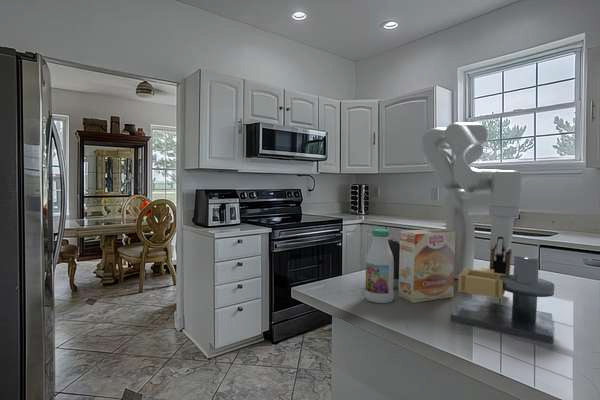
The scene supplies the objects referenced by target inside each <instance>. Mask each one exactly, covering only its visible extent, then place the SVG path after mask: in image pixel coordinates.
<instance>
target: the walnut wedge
mask: <svg viewBox="0 0 600 400" xmlns="http://www.w3.org/2000/svg"><path fill="white" fill-rule="evenodd" d="M491 250H492V251H491ZM491 250H490V256H489V257H490V259H489V269H493V261H494V256H495V248H494V249H491ZM502 251H504V250H503V249H502ZM512 253H513V249H512V248H510V249H509V251H508V252H506V258H505V262H506V273H505V274H506V275H511V263H512ZM502 254H503V253H502Z"/></svg>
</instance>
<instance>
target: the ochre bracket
mask: <svg viewBox="0 0 600 400" xmlns="http://www.w3.org/2000/svg"><path fill="white" fill-rule="evenodd" d="M503 275H505V276H506V274H501V273H494V269H490V268H486V267H481V268H480V270H479V269H473V270H472V269H464V270H463V271H462V272H461V273H460V274H459V278H458V279H457V280H458V281H457V282H458V283H457V285H458V286H457V292H462V293H467V294H473V295H479V296H485V297H490V298H495V299H499V300H500V299H503V297H504V295H505V293H506V291H505V290H503V281H502V279H499V277H500V276H503ZM502 278H503V277H502ZM504 278H505V277H504Z"/></svg>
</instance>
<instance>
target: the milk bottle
mask: <svg viewBox="0 0 600 400" xmlns="http://www.w3.org/2000/svg"><path fill="white" fill-rule="evenodd" d="M371 236H372V242H371V246H370V247H369V249H368V252H367V255H366V261H365V288H364V289H365V292H364V293H365V299H366V300H367V301H369V302H371V303H375V304H388V303H392V301H393V300H394V288H393V280H394V260H393V255H392V252H391V250H390V247H389V244H388V240H389V239H390V237H389V236H390V231H389V229H382V228H376V229H375V228H374V229H372V231H371Z"/></svg>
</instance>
